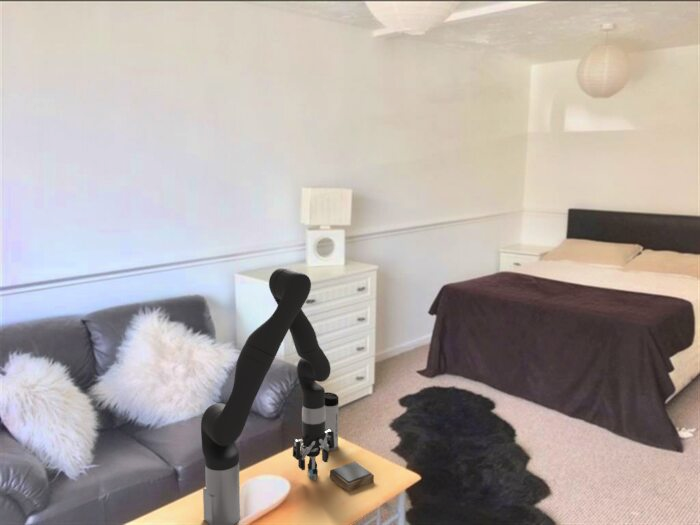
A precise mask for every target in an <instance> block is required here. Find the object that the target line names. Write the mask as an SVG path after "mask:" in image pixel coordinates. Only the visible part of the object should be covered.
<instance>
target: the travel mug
mask: <svg viewBox="0 0 700 525" xmlns="http://www.w3.org/2000/svg"><path fill="white" fill-rule="evenodd" d="M339 405H340V404H339V395H337V394H336V393H334V392H325V410H326V430H327V429H330V430H332V431H333V432H334V448H331V449H330V450H329V452H332V451H335V450H337V449H338V447H339ZM324 442H325V444H326V445H327V436H326V437H325V439H324ZM320 448H321V450H323V448H322V447H321V446H320Z"/></svg>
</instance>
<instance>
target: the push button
mask: <svg viewBox="0 0 700 525" xmlns="http://www.w3.org/2000/svg"><path fill="white" fill-rule="evenodd" d="M305 449H307V447H305ZM321 452H322V449H321V447H319V448H315V449H313V450H310V452H309V454H307V455H306V457H308V458H309V460H308V463H307V472H306V473H307V475H308V476H309V477H310V479H313V480H314V481H316V480H317V476H318V473H319V472H318V471H319V470H318V463H317V461H316V457H318V456H319V455H321Z"/></svg>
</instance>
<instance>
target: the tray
mask: <svg viewBox="0 0 700 525" xmlns="http://www.w3.org/2000/svg"><path fill="white" fill-rule="evenodd" d="M329 478H330V479H331V480H332V481H334V483H336V484H337V485H339V486H340V487H341V488H342V489H344V490H345V491H346V492H347V493H349V492H351V491H355V490H356V489H359V488H362V487H364V486H367V485H370V484H372V483H374V480H375V479H374V478H375V477H374V474H373V473H372V472H370V471H369V470H368V469H366V468H365V467H364V466H362V465H361V464H359V463H358V462H356V461H351V462H349V463H347V464H346V463H345V464H344V465H341V466H338V467H334V468H332V469H330V470H329Z"/></svg>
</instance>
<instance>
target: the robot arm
mask: <svg viewBox="0 0 700 525" xmlns="http://www.w3.org/2000/svg"><path fill="white" fill-rule="evenodd" d="M268 288H269V291H270V293H271V295H272V297H273V299H274V301H275V303H276V304H277V307H276V308H275V310H274V312H273V313H272V314H271V316H270V317H269V318H268V319H267V320H265V322H263V323H262V324H261V325H259V327H256V329H254V330H253V332H252V333H250V335H249V336H248V337H247V339H246V341H245V343H244V345H243V347H242V348H241V350H240V352H239V356H238V358H237V361H236V365H235V372H234V380H233V384H232V385H233V386H232V390H231V392H230V395H229V397H228V400H227V401H226V403H220V402H217V403H214V404H212V405H209V406H208V407H207V408H206V409H205V411H204V413H203V414H202V417H201V421H200V432H201V433H200V434H201V435H200V436H201V448H202V449H201V450H202V455H203V457H204V466H205V467H204V468H205V469H204V470H205V487H203V488H202V495H203V496H202V498H203V499H202V500H203V519H204V521H205V523H207V525H236V524H237V523H238V522H239V520H240V519H241V503H240V501H241V500H240V498H241V497H240V496H241V493H240V490H241V489H240V488H241V487H240V452H239V449H238V447H237V445H236V444H237V443H236V441H237V440H238V439H239V438H240V436H241V435H242V433H243V431H244V428H245V427H246V423H247V420H248V417H249V414H250V413H251V410H252V407H253V404H254V403H255V399H256V398H257V395H258V394H259V391H260V389H261V387H262V384H263V383H264V380H265V378H266V376H267V374H268V372H269V371H270V369H271V366H272V365H273V362H274V361H275V359H276V356H277V354H278V352H279V350H280V348H281V345H282V343H283V342H284V340H285V338H286V335H287V333H288V331H289V332H290V335H291V338H292V341H293V342H292V343H293V344H294V347H295V352H296V354H297V355H298V357H299V358H300V359H299V360H298V362H297V366H296V373H297V377H298V378H297V379H298V381H299V386H300V389H301V393H302V408H301V432H302V437H301V438H300V439H297V438H294V439H293V443H292V457H293V458H294V459H295V460H297V463H298V468H299V469H301V471H305V470H306V457H307V454H309V452H310V450H313V449H315V448H319V447H320V446H321V447H322V448H323V449H321V461H323V463H328V460H329V458H330V456H329V454H330V453H329V452H330V451H329V450H330V449H331V448H334V432H333V431H332V430H330V429H327V430H326V410H325V393H326V392H325V388H324V387H323V386H322V385H320V384H319V383H317V382H321V383H322V382H325V381H327V380H328V378H329V377H330V375H331V370H332V369H331V364H330V360H329V359H328V357H327V356H326V354H325V352H324V351H323V350H322V348H321V346H320V345H319V341H318V338H317V335H316V331H315V329H314V327H313V325H312V323H311V321H310V320H309V318H308V317H307V315H306V314H305V312H304V311H303V309H302V308H303V306H304V305H305V303H306V302H307V300H308V297H309V295H310V292H311V288H312V282H311V278H310V277H309V276H308V275H307V274H305V273H302V272H299V271H297V270H294V269H292V268H288V267H278V268H277V269H275V270H273V272H272V273H271V275H270V276H269V281H268ZM326 436H327V445H326V444H325V442H324V439H325V437H326ZM305 447H307V449H305ZM321 447H320V448H321Z"/></svg>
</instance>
